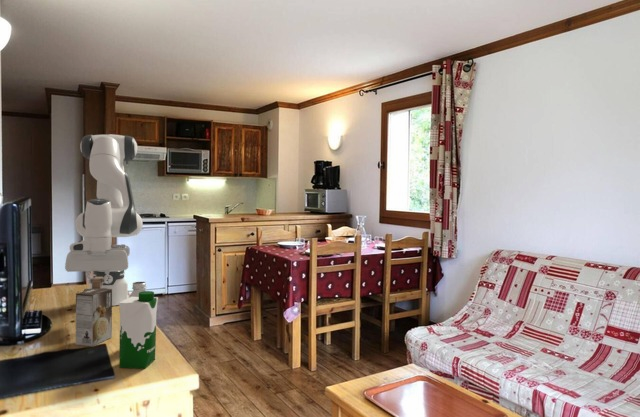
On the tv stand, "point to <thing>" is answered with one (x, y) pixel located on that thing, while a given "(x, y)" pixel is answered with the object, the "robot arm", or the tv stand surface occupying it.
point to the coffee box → (93, 316)
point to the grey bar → (96, 283)
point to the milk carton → (138, 330)
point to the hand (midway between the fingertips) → (97, 283)
